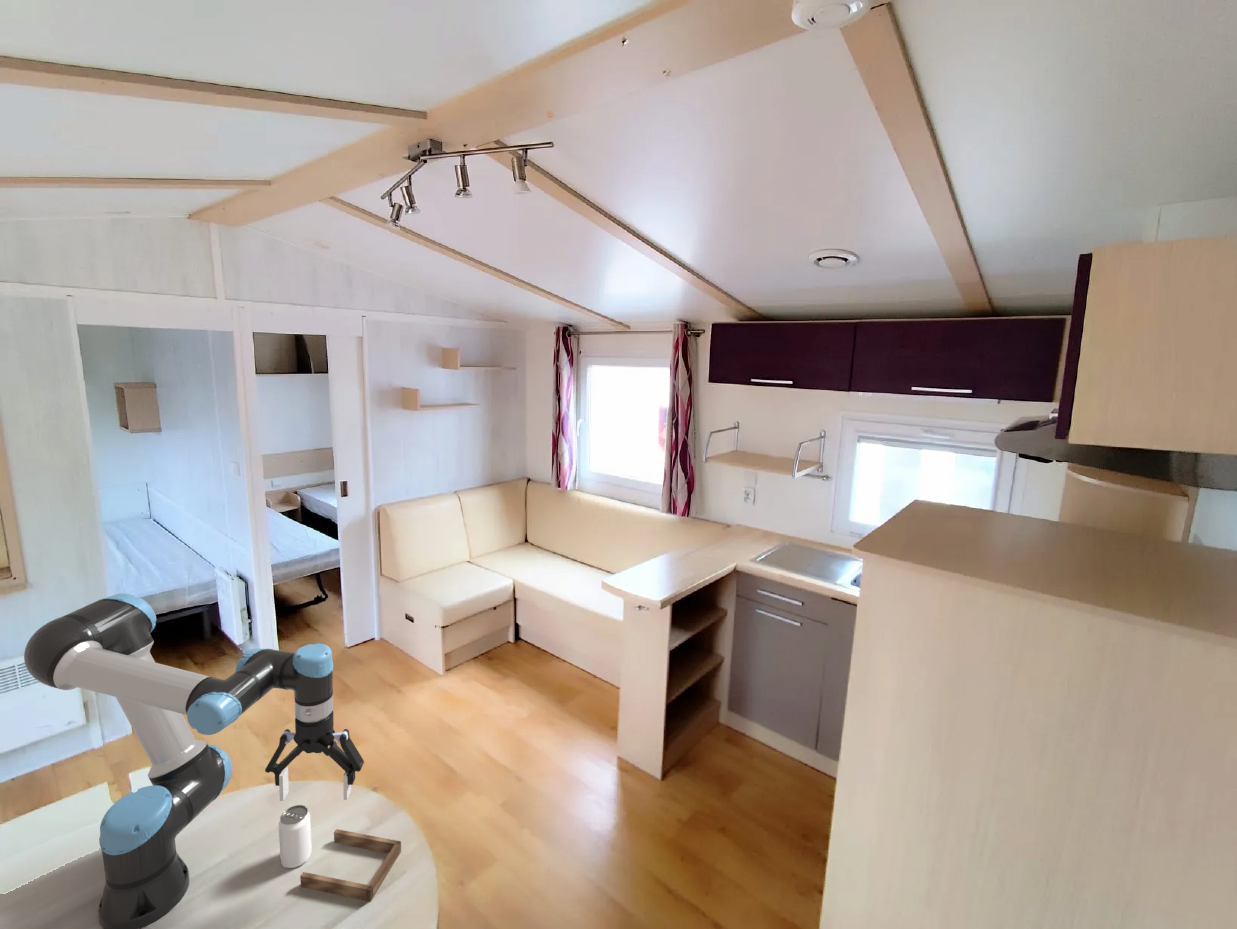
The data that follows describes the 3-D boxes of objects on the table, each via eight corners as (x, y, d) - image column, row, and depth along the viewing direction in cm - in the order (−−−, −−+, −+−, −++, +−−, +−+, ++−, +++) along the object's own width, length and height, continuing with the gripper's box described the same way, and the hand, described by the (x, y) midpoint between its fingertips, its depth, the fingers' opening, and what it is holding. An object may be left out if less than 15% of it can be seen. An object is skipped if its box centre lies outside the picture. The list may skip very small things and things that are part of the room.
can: (298, 872, 132) (295, 828, 130) (274, 865, 133) (271, 822, 131) (318, 849, 138) (316, 806, 136) (294, 843, 139) (292, 800, 137)
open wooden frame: (300, 886, 129) (300, 875, 128) (336, 839, 141) (336, 828, 141) (370, 901, 126) (370, 890, 126) (401, 851, 139) (400, 841, 138)
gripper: (245, 724, 121) (249, 809, 125) (368, 724, 124) (368, 807, 129) (262, 702, 128) (265, 784, 132) (378, 703, 132) (377, 782, 136)
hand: (316, 795), depth 131 cm, fingers open, 13 cm apart
